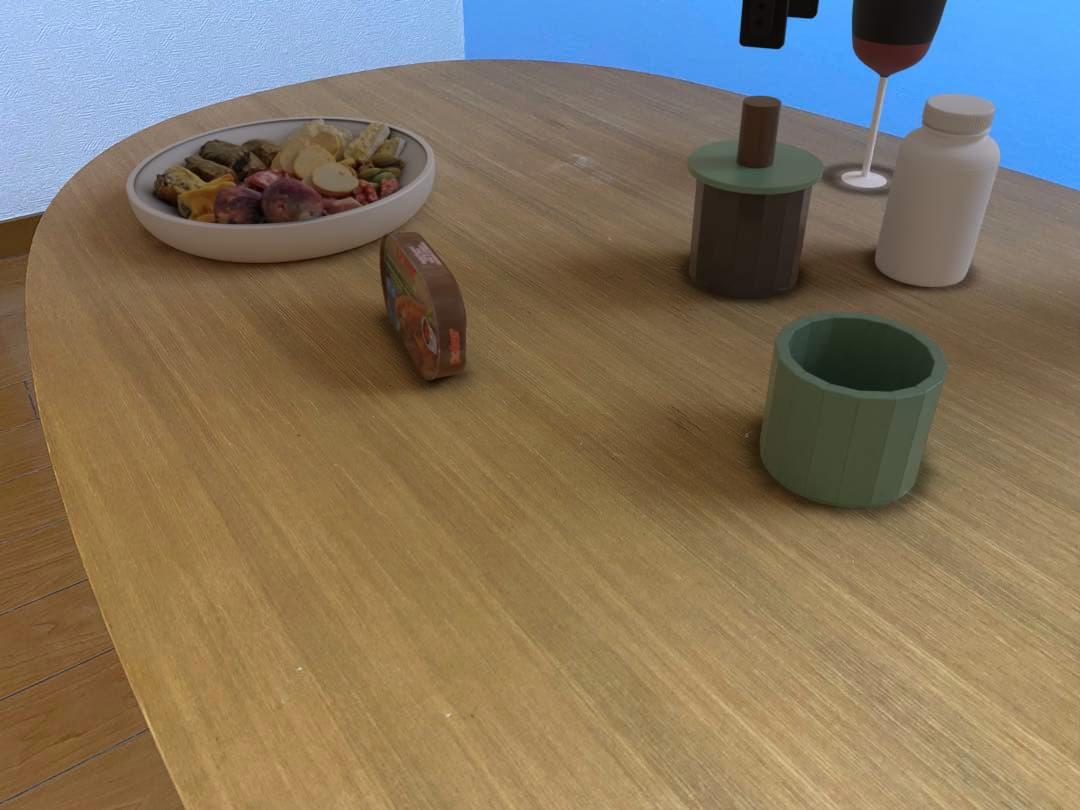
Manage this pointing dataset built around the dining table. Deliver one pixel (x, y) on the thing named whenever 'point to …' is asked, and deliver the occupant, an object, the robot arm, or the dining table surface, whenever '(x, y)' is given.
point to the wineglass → (889, 54)
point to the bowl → (282, 188)
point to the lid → (756, 156)
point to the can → (850, 407)
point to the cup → (747, 241)
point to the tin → (423, 304)
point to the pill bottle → (939, 193)
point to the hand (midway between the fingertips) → (779, 31)
